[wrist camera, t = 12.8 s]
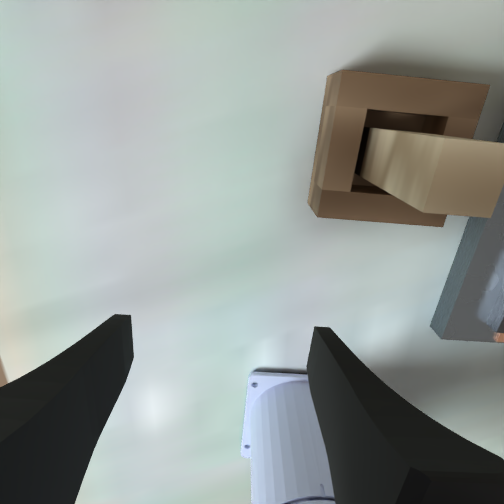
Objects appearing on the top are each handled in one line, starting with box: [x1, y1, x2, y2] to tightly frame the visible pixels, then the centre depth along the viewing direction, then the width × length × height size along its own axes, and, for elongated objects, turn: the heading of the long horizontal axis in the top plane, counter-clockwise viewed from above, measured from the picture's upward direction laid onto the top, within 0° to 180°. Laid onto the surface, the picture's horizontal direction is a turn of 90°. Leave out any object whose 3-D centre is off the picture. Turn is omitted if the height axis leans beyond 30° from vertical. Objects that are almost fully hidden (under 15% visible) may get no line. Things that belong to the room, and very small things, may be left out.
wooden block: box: [354, 127, 504, 218], centre depth 15 cm, size 2×2×8 cm
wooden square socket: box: [308, 70, 490, 227], centre depth 18 cm, size 7×7×3 cm
